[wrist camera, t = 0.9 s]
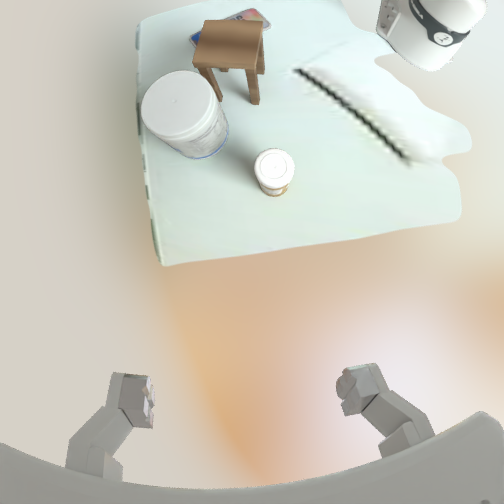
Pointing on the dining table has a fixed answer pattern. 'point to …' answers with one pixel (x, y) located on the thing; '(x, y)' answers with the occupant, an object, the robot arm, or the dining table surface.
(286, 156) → the sprinkles bottle
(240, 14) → the smartphone
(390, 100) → the dining table surface
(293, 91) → the dining table surface
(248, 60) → the stool
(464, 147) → the dining table surface
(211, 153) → the supplement tub
